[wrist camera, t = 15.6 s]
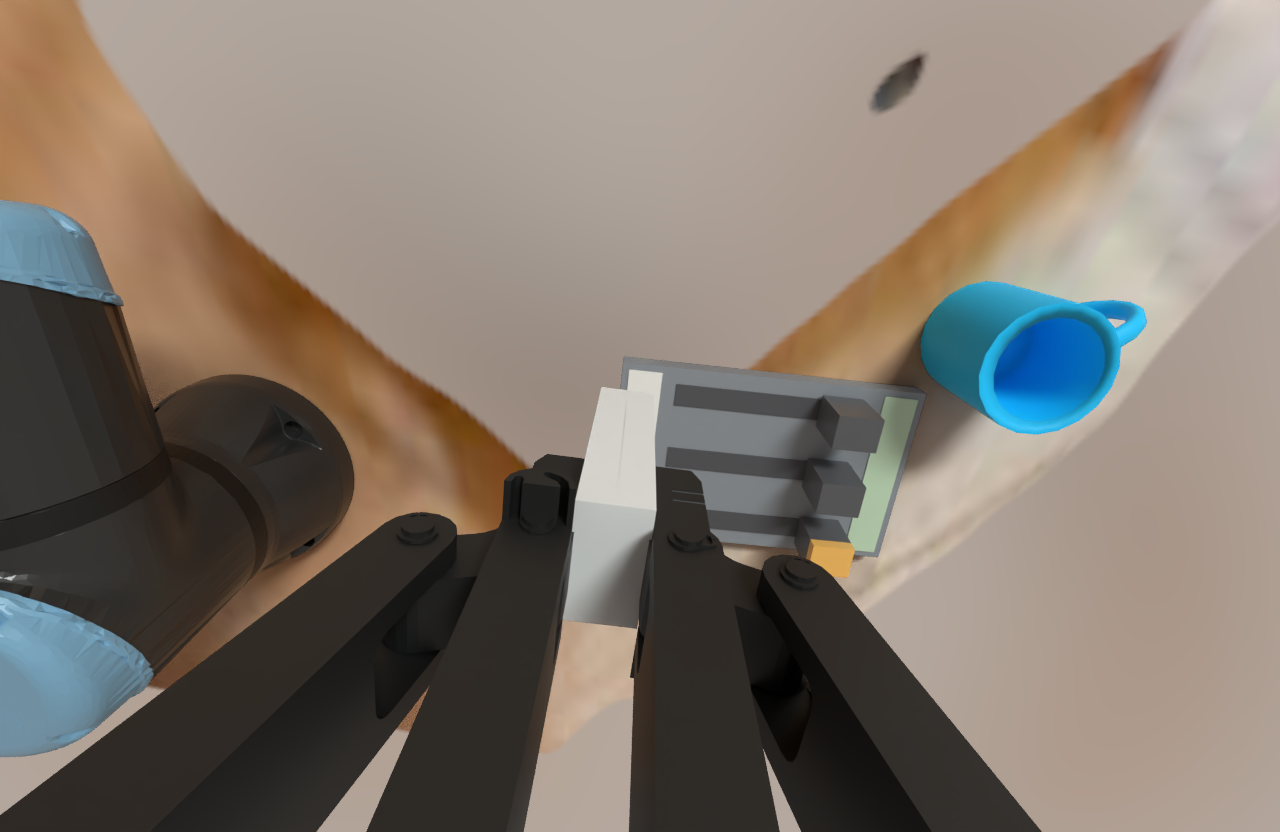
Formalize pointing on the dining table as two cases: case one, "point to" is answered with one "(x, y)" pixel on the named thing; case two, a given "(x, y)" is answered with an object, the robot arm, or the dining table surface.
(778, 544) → the panel
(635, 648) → the robot arm
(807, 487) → the breaker
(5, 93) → the dining table surface
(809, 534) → the breaker
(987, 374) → the mug
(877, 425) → the block
